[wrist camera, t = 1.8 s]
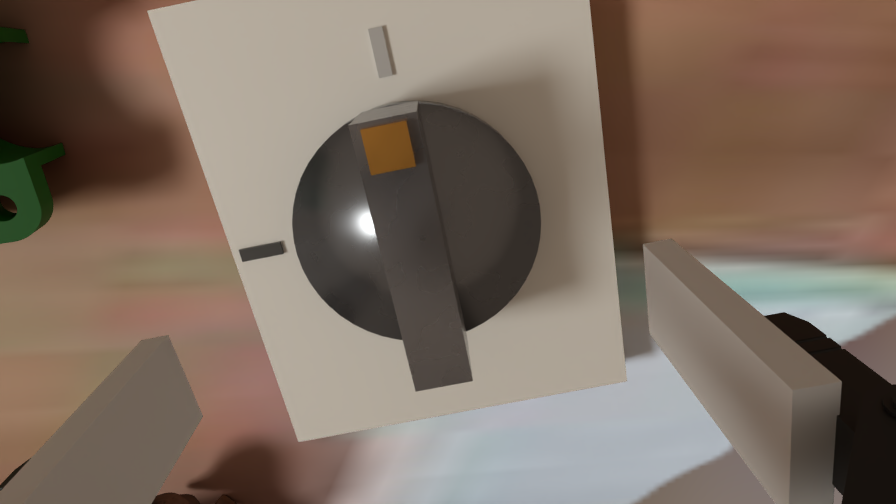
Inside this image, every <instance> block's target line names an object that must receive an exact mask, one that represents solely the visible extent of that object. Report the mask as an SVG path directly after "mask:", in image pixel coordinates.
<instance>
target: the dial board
mask: <svg viewBox="0 0 896 504" xmlns="http://www.w3.org/2000/svg"><path fill="white" fill-rule="evenodd" d="M147 12H148V15H149V18H150V21H151V23H152V26H153V29H154V32H155V35H156V38H157V40H158V43H159V46H160V49H161V52H162V55H163V58H164V60H165V63H166V66H167V69H168V72H169V75H170V77H171V80H172V83H173V86H174V89H175V92H176V95H177V97H178V100H179V103H180V106H181V109H182V112H183V114H184V117H185V120H186V123H187V126H188V129H189V131H190V134H191V137H192V140H193V143H194V146H195V149H196V151H197V154H198V157H199V160H200V163H201V166H202V168H203V171H204V174H205V177H206V180H207V183H208V186H209V188H210V191H211V194H212V197H213V200H214V203H215V205H216V208H217V211H218V214H219V217H220V220H221V223H222V225H223V228H224V231H225V234H226V237H227V240H228V242H229V245H230V248H231V251H232V254H233V257H234V260H235V262H236V265H237V268H238V271H239V274H240V277H241V279H242V282H243V285H244V288H245V291H246V294H247V297H248V299H249V302H250V305H251V308H252V311H253V314H254V316H255V319H256V322H257V325H258V328H259V331H260V334H261V336H262V339H263V342H264V345H265V348H266V351H267V353H268V356H269V359H270V362H271V365H272V368H273V370H274V373H275V376H276V379H277V382H278V385H279V388H280V390H281V393H282V396H283V399H284V402H285V405H286V407H287V410H288V413H289V416H290V419H291V422H292V425H293V427H294V430H295V433H296V436H297V439H298V442H301V441H307V440H312V439H318V438H323V437H328V436H334V435H339V434H345V433H350V432H355V431H361V430H366V429H372V428H377V427H382V426H388V425H393V424H399V423H404V422H409V421H415V420H420V419H426V418H431V417H436V416H442V415H447V414H452V413H458V412H463V411H469V410H474V409H479V408H485V407H490V406H496V405H501V404H506V403H512V402H517V401H523V400H528V399H533V398H539V397H544V396H550V395H555V394H560V393H566V392H571V391H577V390H582V389H587V388H593V387H598V386H604V385H609V384H614V383H620V382H625V381H627V377H626V367H625V357H624V347H623V337H622V327H621V316H620V306H619V296H618V286H617V276H616V266H615V256H614V245H613V235H612V225H611V215H610V205H609V195H608V184H607V174H606V164H605V154H604V144H603V134H602V124H601V113H600V103H599V93H598V83H597V73H596V63H595V52H594V42H593V32H592V22H591V12H590V2H589V0H196V1H191V2H186V3H182V4H177V5H172V6H168V7H163V8H158V9H154V10H149V11H147ZM401 101H431V102H439V103H444V104H447V105H451V106H454V107H458V108H460V109H462V110H465V111H467V112H469V113H472V114H473V115H475V116H477V117H478V118H480V119H482V120H483V121H485V122H487V123H488V124H489V125H490V126H492V127H493V128H494V129H495V130H497V131H498V132H499V133H500V134H501V135H502V136H503V137H504V138H505V139H506V140H507V142H508V143H509V144H510V145H511V146H512V147H513V148H514V150H515V151H516V153H517V154H518V155H519V157H520V158H521V159H522V161H523V162H524V164H525V166H526V168H527V170H528V172H529V173H530V175H531V177H532V180H533V183H534V186H535V188H536V191H537V195H538V200H539V205H540V213H541V234H540V242H539V247H538V252H537V255H536V258H535V261H534V264H533V267H532V269H531V271H530V273H529V275H528V277H527V279H526V281H525V282H524V284H523V285H522V287H521V288H520V290H519V291H518V293H517V294H516V295H515V296H514V297H513V299H512V300H511V301H510V302H509V303H508V304H507V305H506V306H505V307H504V308H503V309H502V310H501V311H499V312H498V313H497V314H496V315H495V316H493V317H492V318H490V319H489V320H487V321H486V322H484V323H483V324H481V325H479V326H477V327H475V328H473V329H471V330H469V331H466V334H467V341H468V348H469V355H470V363H471V370H472V377H473V381H471V382H465V383H460V384H455V385H449V386H444V387H438V388H433V389H428V390H422V391H417V392H416V391H415V387H414V383H413V379H412V375H411V371H410V367H409V363H408V360H407V356H406V352H405V348H404V344H403V340H397V339H392V338H388V337H383V336H380V335H377V334H374V333H371V332H369V331H366V330H364V329H362V328H360V327H358V326H356V325H354V324H352V323H351V322H349V321H348V320H346V319H345V318H343V317H341V316H340V315H339V314H338V313H337V312H335V311H334V310H333V309H332V308H331V307H329V306H328V304H327V303H326V302H325V301H324V300H323V299H322V298H321V297H320V296H319V295H318V293H317V292H316V291H315V289H314V288H313V286H312V285H311V284H310V282H309V280H308V278H307V277H306V275H305V273H304V271H303V269H302V266H301V264H300V261H299V259H298V256H297V252H296V248H295V244H294V239H293V229H292V215H293V205H294V199H295V194H296V191H297V188H298V185H299V182H300V179H301V176H302V174H303V172H304V170H305V169H306V167H307V165H308V163H309V161H310V160H311V158H312V157H313V156H314V154H315V153H316V151H317V150H318V149H319V148H320V147H321V145H322V144H323V143H324V142H325V141H326V140H327V139H328V138H329V137H330V136H331V135H332V134H333V133H334V132H335V131H337V130H338V129H339V128H340V127H341V126H343V125H344V124H345V123H346V122H348V121H350V120H351V119H353V118H354V117H356V116H358V115H359V114H360V113H361V112H364V111H368V110H370V109H373V108H375V107H378V106H382V105H386V104H389V103H394V102H401Z"/></svg>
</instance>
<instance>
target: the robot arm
mask: <svg viewBox="0 0 896 504" xmlns="http://www.w3.org/2000/svg"><path fill="white" fill-rule="evenodd" d="M643 253H644V267H645V281H646V294H647V308H648V321H649V334H650V335H651V336H652V338H653V339H654V340H655V342H656V343H657V344H658V346H659V347H660V348H661V350H662V351H663V352H664V354H665V355H666V356H667V358H668V359H669V361H670V362H671V363H672V365H673V366H674V367H675V369H676V370H677V371H678V373H679V374H680V375H681V377H682V378H683V379H684V381H685V382H686V384H687V385H688V386H689V388H690V389H691V390H692V392H693V393H694V394H695V396H696V397H697V398H698V400H699V401H700V402H701V404H702V405H703V406H704V408H705V409H706V411H707V412H708V413H709V415H710V416H711V417H712V419H713V420H714V421H715V423H716V424H717V425H718V427H719V428H720V429H721V431H722V432H723V433H724V435H725V436H726V438H727V439H728V440H729V442H730V443H731V444H732V446H733V447H734V448H735V450H736V451H737V452H738V454H739V455H740V456H741V458H742V459H743V460H744V462H745V463H746V465H747V466H748V467H749V469H750V470H751V471H752V472H753V474H754V475H755V477H756V478H757V479H758V481H759V482H760V483H761V485H762V486H763V487H764V489H765V490H766V491H767V493H768V494H769V495H770V497H771V498H772V500H773V501H774V502H775V503H776V504H833V502H834V487H836V489H837V490H838V491H839V492H840V493H841V494H842V495H843V500H842V504H896V385H891V384H890V383H889V382H887V381H886V380H885V379H883V378H882V377H881V376H880V375H878V374H877V373H876V372H874V371H873V370H872V369H870V368H869V367H868V366H866V365H865V364H864V363H862V362H861V361H860V360H858V359H857V358H856V357H854V356H853V355H852V354H850V353H849V352H848V351H846V350H845V349H841V346H840V345H839V344H837V343H836V342H835V341H833V340H832V339H831V338H827V337H826V335H825V334H824V333H823V332H821V331H820V330H819V329H817V328H816V327H815V326H813V325H812V324H811V323H809V322H807V321H805V320H802V319H800V318H797V317H795V316H792V315H789V314H787V313H784V312H783V313H778V314H772V315H767V316H763V315H762V314H761V313H760V312H758V311H757V310H756V309H755V308H754V307H752V306H751V305H750V304H749V303H748V302H746V301H745V300H744V299H743V298H742V297H741V296H739V295H738V294H737V293H736V292H735V291H733V290H732V289H731V288H730V287H729V286H727V285H726V284H725V283H724V282H723V281H721V280H720V279H719V278H718V277H717V276H715V275H714V274H713V273H712V272H711V271H710V270H708V269H707V268H706V267H705V266H704V265H702V264H701V263H700V262H699V261H698V260H696V259H695V258H694V257H693V256H692V255H690V254H689V253H688V252H687V251H686V250H685V249H683V248H682V247H681V246H680V245H679V244H677V243H676V242H675V241H674V240H673V239H667V240H661V241H656V242H651V243H646V244H643ZM202 417H203V415H202V413H201V411H200V408H199V406H198V404H197V401H196V399H195V397H194V394H193V392H192V389H191V387H190V385H189V382H188V380H187V378H186V375H185V373H184V371H183V368H182V366H181V364H180V361H179V359H178V357H177V354H176V352H175V350H174V347H173V345H172V343H171V340H170V338H169V336H168V335H166V336H161V337H156V338H151V339H145V340H141V341H140V342H139V343H138V345H137V346H136V347H135V348H134V349H133V350H132V351H131V352H130V353H129V354H128V355H127V356H126V357H125V358H124V359H123V361H122V362H121V363H120V364H119V365H118V366H117V367H116V368H115V369H114V370H113V371H112V372H111V373H110V374H109V376H108V377H107V378H106V379H105V380H104V381H103V382H102V383H101V384H100V385H99V386H98V387H97V388H96V389H95V390H94V392H93V393H92V394H91V395H90V396H89V397H88V398H87V399H86V400H85V401H84V402H83V403H82V404H81V405H80V407H79V408H78V409H77V410H76V411H75V412H74V413H73V414H72V415H71V416H70V417H69V418H68V419H67V420H66V421H65V423H64V424H63V425H62V426H61V427H60V428H59V429H58V430H57V431H56V432H55V433H54V434H53V435H52V436H51V438H50V439H49V440H48V441H47V442H46V443H45V444H44V445H43V446H42V447H41V448H40V449H39V450H38V451H37V452H36V454H35V455H34V456H33V457H32V458H30V459H29V460H27V461H26V462H25V463H23V464H22V465H21V466H19V467H18V468H17V469H15V470H14V471H13V472H12V473H11V474H10V475H9V476H8V478H7V479H6V480H5V481H4V482H3V483H2V484H1V485H0V504H152V502H153V500H154V499H155V497H156V495H157V494H158V492H159V490H160V488H161V487H162V485H163V483H164V482H165V480H166V478H167V477H168V475H169V473H170V471H171V470H172V468H173V466H174V465H175V463H176V461H177V460H178V458H179V456H180V454H181V453H182V451H183V449H184V448H185V446H186V444H187V443H188V441H189V439H190V437H191V436H192V434H193V432H194V431H195V429H196V427H197V426H198V424H199V422H200V420H201V419H202Z"/></svg>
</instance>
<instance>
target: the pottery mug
mask: <svg viewBox="0 0 896 504" xmlns="http://www.w3.org/2000/svg"><path fill="white" fill-rule="evenodd" d="M152 504H200V503H199V501H198V500H197V499H196V498H195V497H194V496H193V495H189V494H180V495H179V494H176V493H164V494H161V495H158V496H156V497H155V499H154V500H153V502H152ZM215 504H237V503H235V502H234V501H233V500H231V499H230V498H229V497H227V496H226V495H222V496H221V497H220V498H219V499H218V500H217V502H216V503H215Z"/></svg>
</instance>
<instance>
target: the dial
mask: <svg viewBox="0 0 896 504" xmlns="http://www.w3.org/2000/svg"><path fill="white" fill-rule="evenodd" d="M292 229H293V239H294V244H295V248H296V252H297V256H298V259H299V261H300V264H301V266H302V269H303V271H304V273H305V275H306V277H307V278H308V280H309V282H310V284H311V285H312V286H313V288H314V289H315V291H316V292H317V293H318V295H319V296H320V297H321V298H322V299H323V300H324V301H325V302H326V303H327V304H328V306H329V307H331V308H332V309H333V310H334V311H335V312H337V313H338V314H339V315H340V316H341V317H343V318H345V319H346V320H348V321H349V322H351V323H352V324H354V325H356V326H358V327H360V328H362V329H364V330H366V331H369V332H371V333H374V334H377V335H380V336H383V337H388V338H392V339H397V340H403V344H404V348H405V352H406V356H407V360H408V363H409V367H410V371H411V375H412V379H413V383H414V387H415V391H416V392H417V391H422V390H428V389H433V388H438V387H444V386H449V385H455V384H460V383H465V382H471V381H473V377H472V370H471V363H470V355H469V348H468V341H467V334H466V331H469V330H471V329H473V328H475V327H477V326H479V325H481V324H483V323H484V322H486V321H487V320H489V319H490V318H492V317H493V316H495V315H496V314H497V313H498V312H499V311H501V310H502V309H503V308H504V307H505V306H506V305H507V304H508V303H509V302H510V301H511V300H512V299H513V297H514V296H515V295H516V294H517V293H518V291H519V290H520V288H521V287H522V285H523V284H524V282H525V281H526V279H527V277H528V275H529V273H530V271H531V269H532V267H533V264H534V261H535V258H536V255H537V252H538V247H539V242H540V234H541V213H540V205H539V200H538V195H537V191H536V188H535V186H534V183H533V180H532V177H531V175H530V173H529V172H528V170H527V168H526V166H525V164H524V162H523V161H522V159H521V158H520V157H519V155H518V154H517V153H516V151H515V150H514V148H513V147H512V146H511V145H510V144H509V143H508V142H507V140H506V139H505V138H504V137H503V136H502V135H501V134H500V133H499V132H498V131H497V130H495V129H494V128H493V127H492V126H490V125H489V124H488V123H487V122H485V121H483V120H482V119H480V118H478V117H477V116H475V115H473V114H472V113H469V112H467V111H465V110H462V109H460V108H458V107H454V106H451V105H447V104H444V103H439V102H431V101H401V102H394V103H389V104H386V105H382V106H378V107H375V108H373V109H370V110H368V111H364V112H361V113H360V114H359V115H358V116H356V117H354V118H353V119H351V120H350V121H348V122H346V123H345V124H344V125H343V126H341V127H340V128H339V129H338V130H337V131H335V132H334V133H333V134H332V135H331V136H330V137H329V138H328V139H327V140H326V141H325V142H324V143H323V144H322V145H321V147H320V148H319V149H318V150H317V151H316V153H315V154H314V156H313V157H312V158H311V160H310V161H309V163H308V165H307V167H306V169H305V170H304V172H303V174H302V176H301V179H300V182H299V185H298V188H297V191H296V194H295V199H294V205H293V215H292Z"/></svg>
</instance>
